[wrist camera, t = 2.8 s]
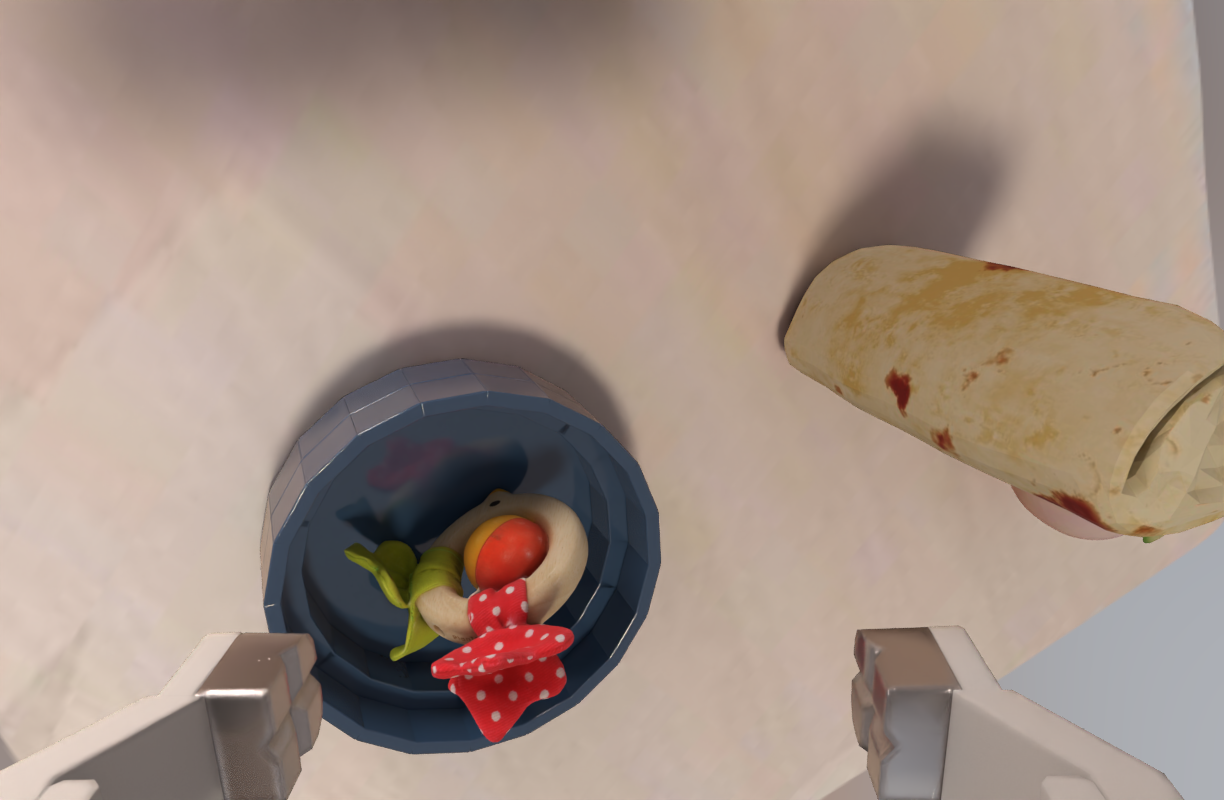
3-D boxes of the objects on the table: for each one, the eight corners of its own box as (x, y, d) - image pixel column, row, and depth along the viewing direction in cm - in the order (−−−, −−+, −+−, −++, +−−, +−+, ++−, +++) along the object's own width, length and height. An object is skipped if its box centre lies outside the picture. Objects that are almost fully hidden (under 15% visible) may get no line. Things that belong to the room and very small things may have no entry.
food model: (780, 406, 45) (1132, 615, 28) (752, 278, 42) (1123, 420, 25) (943, 332, 48) (1363, 482, 30) (926, 207, 45) (1379, 290, 27)
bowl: (174, 551, 37) (167, 615, 32) (461, 280, 38) (491, 306, 33) (443, 741, 44) (466, 815, 40) (678, 510, 45) (727, 557, 41)
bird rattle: (447, 431, 41) (291, 583, 37) (612, 456, 33) (437, 656, 29) (518, 529, 44) (382, 681, 40) (687, 575, 36) (538, 773, 31)
